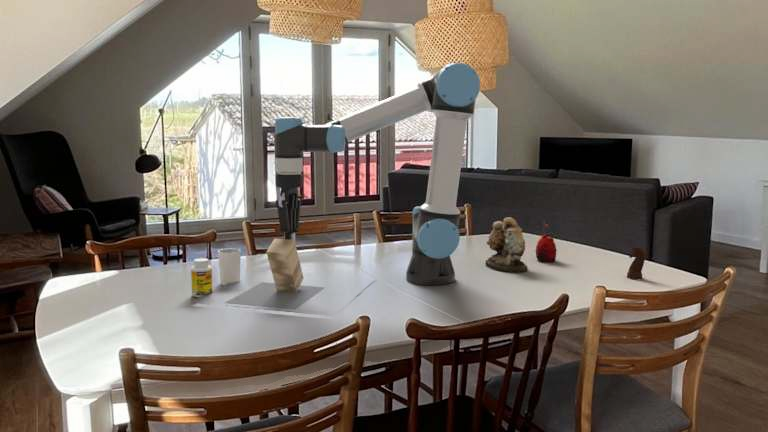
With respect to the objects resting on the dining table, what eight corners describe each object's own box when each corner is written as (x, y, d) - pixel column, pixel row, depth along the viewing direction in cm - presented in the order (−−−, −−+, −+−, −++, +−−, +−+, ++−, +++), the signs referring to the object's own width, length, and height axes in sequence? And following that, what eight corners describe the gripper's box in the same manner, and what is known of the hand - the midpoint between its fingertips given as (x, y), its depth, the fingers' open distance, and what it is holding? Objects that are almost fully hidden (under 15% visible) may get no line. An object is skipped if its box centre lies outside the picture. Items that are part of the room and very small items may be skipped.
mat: (325, 290, 184) (325, 287, 184) (295, 312, 163) (295, 309, 163) (262, 284, 189) (262, 282, 189) (225, 305, 168) (225, 302, 168)
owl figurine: (474, 263, 219) (476, 214, 217) (501, 260, 225) (503, 212, 222) (508, 274, 204) (510, 222, 201) (536, 270, 209) (538, 220, 207)
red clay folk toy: (560, 261, 223) (562, 219, 221) (546, 264, 219) (549, 221, 217) (543, 257, 229) (545, 216, 227) (530, 259, 225) (532, 218, 223)
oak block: (303, 277, 183) (294, 239, 175) (296, 292, 178) (286, 253, 170) (284, 275, 185) (274, 237, 177) (276, 290, 180) (266, 251, 172)
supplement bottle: (195, 299, 174) (194, 262, 172) (189, 294, 178) (188, 258, 177) (215, 296, 177) (214, 260, 175) (209, 291, 181) (207, 256, 180)
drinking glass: (245, 281, 193) (245, 249, 191) (233, 286, 186) (232, 253, 185) (226, 279, 195) (225, 247, 193) (214, 284, 188) (213, 252, 187)
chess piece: (630, 275, 204) (632, 245, 203) (646, 278, 201) (648, 247, 199) (624, 277, 201) (626, 247, 199) (640, 280, 197) (642, 249, 196)
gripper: (286, 170, 184) (287, 250, 188) (266, 174, 172) (267, 259, 175) (310, 171, 182) (310, 251, 186) (291, 175, 170) (292, 261, 173)
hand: (290, 255), depth 181 cm, fingers closed
